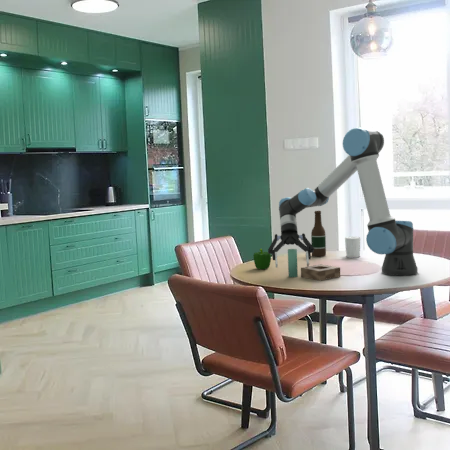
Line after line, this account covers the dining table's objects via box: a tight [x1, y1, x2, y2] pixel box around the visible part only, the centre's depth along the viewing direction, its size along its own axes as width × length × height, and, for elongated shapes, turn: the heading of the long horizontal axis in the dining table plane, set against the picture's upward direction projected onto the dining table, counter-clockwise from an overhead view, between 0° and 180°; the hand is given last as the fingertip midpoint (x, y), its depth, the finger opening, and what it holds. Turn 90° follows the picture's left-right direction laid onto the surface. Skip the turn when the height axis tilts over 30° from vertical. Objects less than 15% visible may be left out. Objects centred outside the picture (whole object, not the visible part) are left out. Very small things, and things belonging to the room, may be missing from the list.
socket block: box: [300, 263, 341, 282], centre depth 256 cm, size 12×12×4 cm
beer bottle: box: [310, 210, 327, 258], centre depth 310 cm, size 8×8×24 cm
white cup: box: [344, 236, 362, 258], centre depth 304 cm, size 8×8×10 cm
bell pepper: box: [253, 248, 272, 270], centre depth 280 cm, size 8×8×10 cm
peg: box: [287, 248, 299, 278], centre depth 258 cm, size 4×4×12 cm
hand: (292, 265), depth 257 cm, fingers open, 13 cm apart
